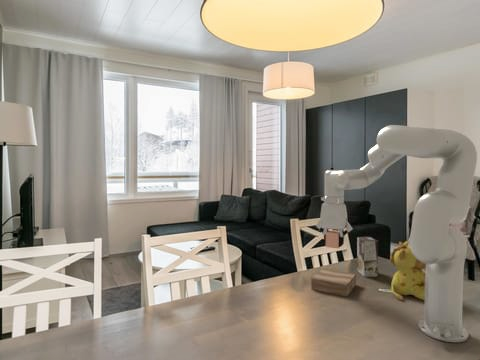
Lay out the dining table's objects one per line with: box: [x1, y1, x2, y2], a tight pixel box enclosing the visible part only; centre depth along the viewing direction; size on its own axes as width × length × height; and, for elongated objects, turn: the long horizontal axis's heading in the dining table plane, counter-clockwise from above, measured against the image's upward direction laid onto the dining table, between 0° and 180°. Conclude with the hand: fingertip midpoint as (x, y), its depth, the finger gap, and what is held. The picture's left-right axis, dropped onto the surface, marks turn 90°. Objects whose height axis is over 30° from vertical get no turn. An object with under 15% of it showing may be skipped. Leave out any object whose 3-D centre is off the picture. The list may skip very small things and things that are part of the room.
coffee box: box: [356, 236, 379, 278], centre depth 148 cm, size 9×6×16 cm
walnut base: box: [310, 268, 357, 297], centre depth 132 cm, size 14×14×4 cm
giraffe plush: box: [378, 240, 426, 301], centre depth 126 cm, size 20×24×19 cm
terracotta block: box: [325, 229, 340, 249], centre depth 131 cm, size 5×5×6 cm
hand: (333, 244), depth 132 cm, fingers closed on terracotta block, 4 cm apart
